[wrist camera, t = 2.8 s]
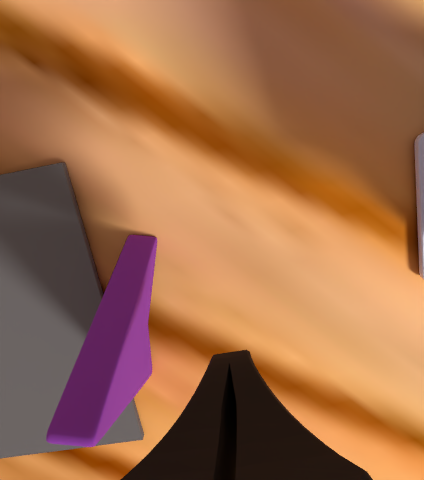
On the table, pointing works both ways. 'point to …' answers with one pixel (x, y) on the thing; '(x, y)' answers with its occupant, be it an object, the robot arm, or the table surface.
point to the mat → (44, 308)
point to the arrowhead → (110, 352)
